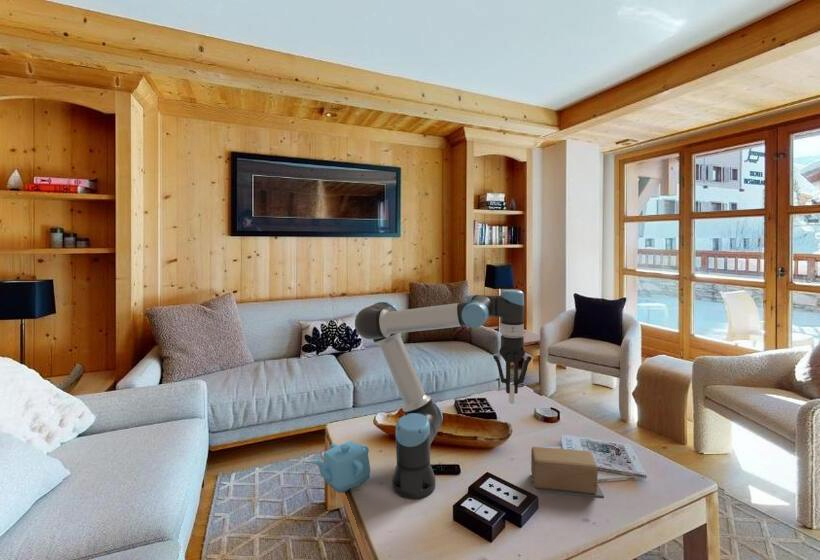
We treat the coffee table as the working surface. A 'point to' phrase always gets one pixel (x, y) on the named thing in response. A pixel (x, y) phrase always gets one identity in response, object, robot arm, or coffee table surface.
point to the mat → (552, 491)
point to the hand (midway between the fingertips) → (511, 402)
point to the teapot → (345, 465)
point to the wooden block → (564, 469)
